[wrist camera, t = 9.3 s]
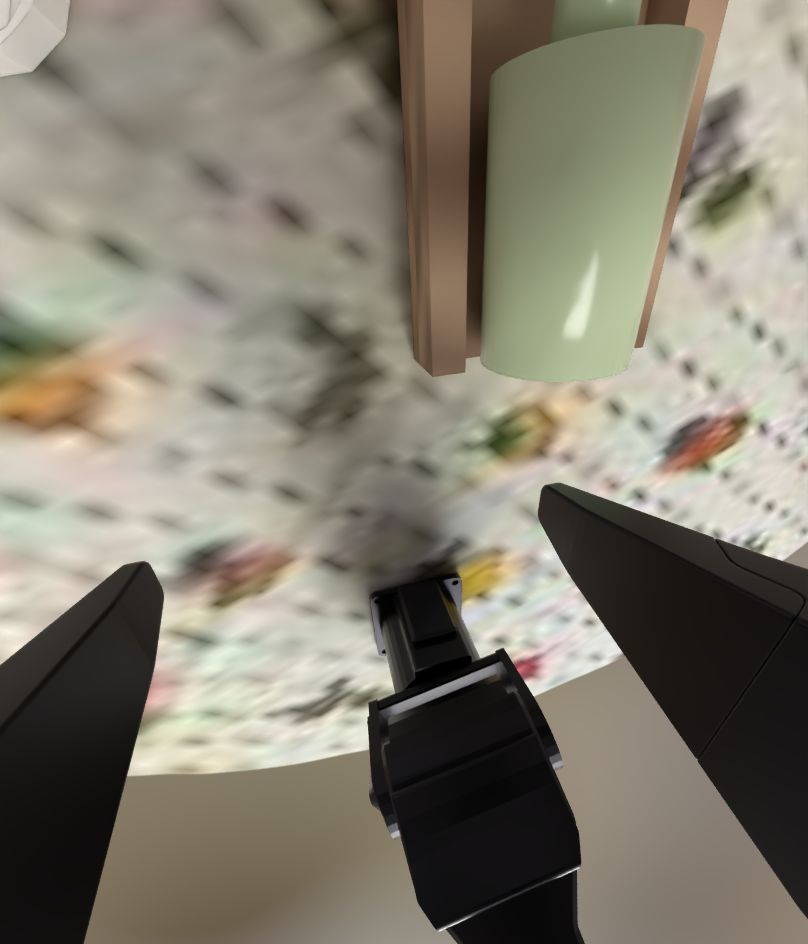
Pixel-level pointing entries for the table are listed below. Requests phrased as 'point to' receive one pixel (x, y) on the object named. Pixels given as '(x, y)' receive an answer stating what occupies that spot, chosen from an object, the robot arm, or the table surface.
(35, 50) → the white cup
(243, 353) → the table surface
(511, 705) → the robot arm
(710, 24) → the rest
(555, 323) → the bottle
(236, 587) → the table surface
